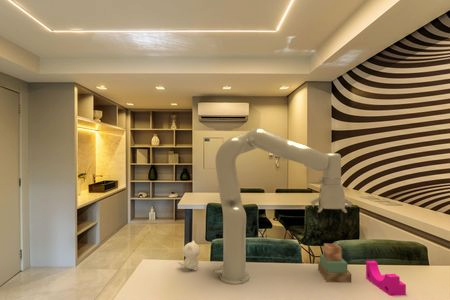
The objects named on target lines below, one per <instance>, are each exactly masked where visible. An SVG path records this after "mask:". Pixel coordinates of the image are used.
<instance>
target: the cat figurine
mask: <svg viewBox="0 0 450 300" xmlns="http://www.w3.org/2000/svg"><path fill="white" fill-rule="evenodd" d="M200 253H201V249H200V246H199V245H198V244H197V243H196V242H195V240H192V241H191V242H188V243H186V244H185V245H184V247H183V248H182V254H183V256H184V257H185V259H184V261H183V263H182V262H181V261H179V260H177V261H176V262H177V263H178V264H179V265H180V266H182V267H184V268H187V269H188V270H194V271H198V268H199V266H198V265H199V258H198V257H199V255H200ZM196 267H198V268H196Z"/></svg>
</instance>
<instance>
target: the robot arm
mask: <svg viewBox="0 0 450 300" xmlns="http://www.w3.org/2000/svg"><path fill="white" fill-rule="evenodd" d="M256 149H260V150H262V151H264V152H267V153H269V154H272V155H274V156H275V157H277V158H281V159H282V160H283V159H284V160H288V161H293V162H295V163H299V164H301V165H304V167H305V168H306V169H308V170H312V171H316V172H321V171H322V174H321V178H318V179H319V180H318V182H319V183H321V184H320V187H319V192H318V193H319V194H318V197H317V198H315V199H312V200H311V201H310V203H311V205H312V207H313V209H314V210H315V211H316V219H317V220H318V221H319V222H320V223H322V222H323V212H322V211H323V209H325V210H326V209H329V210H341V211H340V222H342V223H346V220H347V213H348V212H349V210H351V207H352V205H353V202H352V201H350V200H348V199H346V197H345V196H346V195H345V189H344V188H345V187H344V185H342V156H341V154H340V153H337V152H336V153H335V152H334V153H333V152H329V153H328V152H327V153H323V152H321V151H319V150H316V149H314V148H313V147H309V146H306V145H304V144H301V143H299V142H296V141H295V140H294V141H293V140H292V139H289V138H286V137H284V136H281V135H279V134H277V133H275V132H272V131H270V130H267V129H265V128H262V127H256V128H254V129H252V130H250V131H248V132H245V133H242V134H239V135H236V136H231V137H229V138H228V139H226V140H225V141H224V142H223V143H222V144H221V145H220V146H219V148H218V150H217V152H216V154H215V170H216V178H217V181H218V183H217V184H218V186H217V187H218V193H219V198H220V203H221V204H220V205H221V208H222V219H223V220H222V223H223V224H222V227H223V229H222V230H223V233H222V243H223V248H222V249H223V252H222V255H223V257H222V259H223V261H222V263H223V264H222V266H213V267H212V272H214V273H215V274H218V275H219V279H220V280H221V282H223V283H225V284H229V285H242V284H244V283H247V282H248V281H249V280H250V274H249V272H248V271H246V268H247V267H246V263H247V262H246V260H247V259H246V255H247V252H246V249H247V247H246V243H247V242H246V238H247V237H246V231H247V230H246V229H247V213H246V210H245V208H244V206H243V201H242V196H241V184H240V183H239V177H238V172H237V167H236V161H237V158H238V157H239V156H241V155H242V154H245V153H248V152H251V151H254V150H256ZM317 203H318V206H317V205H316V204H317ZM346 204H347V205H346Z"/></svg>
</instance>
